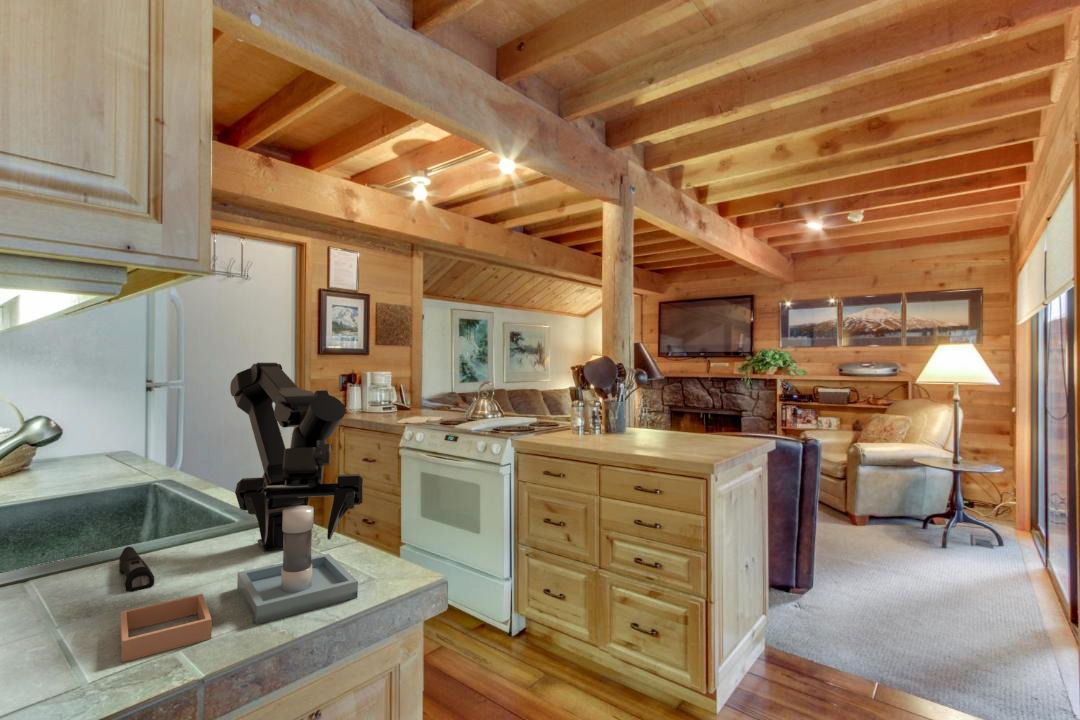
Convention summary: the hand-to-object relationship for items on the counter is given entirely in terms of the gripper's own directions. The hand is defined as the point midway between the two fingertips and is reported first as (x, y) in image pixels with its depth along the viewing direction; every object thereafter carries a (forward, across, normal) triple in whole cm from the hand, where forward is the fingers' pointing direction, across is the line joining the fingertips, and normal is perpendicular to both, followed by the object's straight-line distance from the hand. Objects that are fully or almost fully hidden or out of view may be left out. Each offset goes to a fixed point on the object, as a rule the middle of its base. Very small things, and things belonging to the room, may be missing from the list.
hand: (296, 540), depth 82 cm
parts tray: (+5, 0, +7) cm, 9 cm away
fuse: (+4, 0, +6) cm, 8 cm away
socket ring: (+12, -15, 0) cm, 19 cm away
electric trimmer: (-4, -27, +17) cm, 32 cm away
